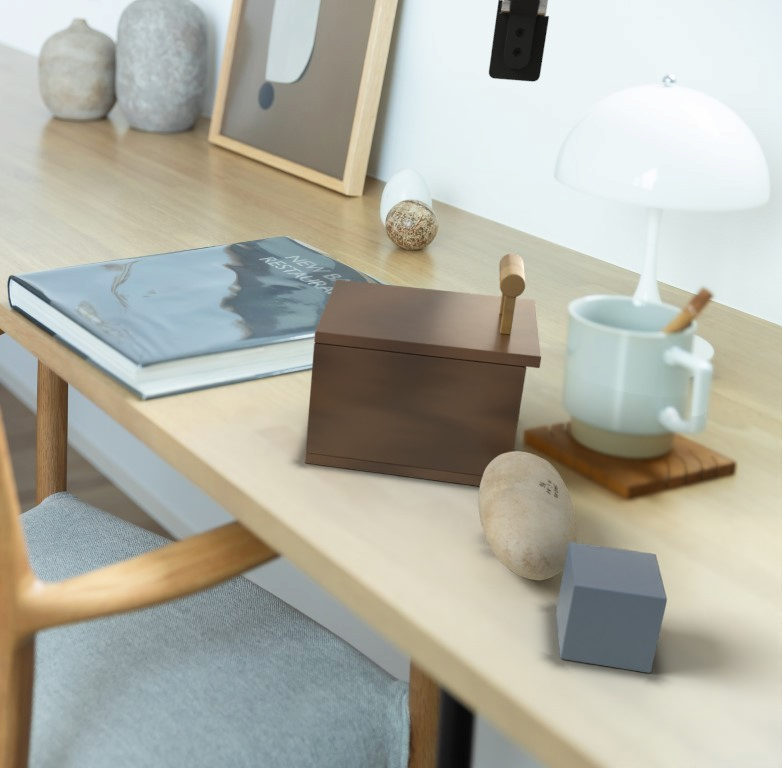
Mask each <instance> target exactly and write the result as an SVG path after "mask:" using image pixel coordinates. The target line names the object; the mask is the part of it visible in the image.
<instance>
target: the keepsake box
mask: <svg viewBox="0 0 782 768" xmlns="http://www.w3.org/2000/svg"><path fill="white" fill-rule="evenodd" d="M311 365H312V366H311V380H310V389H309V390H310V392H309V404H308V414H307V415H308V418H307V428H306V429H307V430H306V441H305V442H306V443H305V453H304V454H305V455H304V463H305V464H310V465H318V466H319V465H320V466H326V467H333V468H334V467H335V468H341V469H348V470H357V471H363V472H372V473H377V474H378V473H379V474H385V475H386V474H387V475H392V476H401V477H408V478H417V479H423V480H431V481H438V482H439V481H440V482H445V483H446V482H447V483H455V484H460V485H467V486H469V485H470V486H476V487H480V483H481V480H482V477H483V474H484V471H485V469H486V467H487V466H488V464H489V463H490V462H491V461H492V460H493V459H495V458H496V457H497V456H499V455H501V454H504V453H507V452H513V451H515V444H516V436H517V432H518V425H519V417H520V413H521V412H520V411H521V405H522V400H523V393H524V385H525V379H526V375H527V374H526V373H527V367H525V366H516V365H507V364H499V363H490V362H481V361H472V360H464V359H455V358H446V357H437V356H429V355H420V354H411V353H402V352H394V351H385V350H376V349H367V348H359V347H350V346H341V345H332V344H324V343H315V342H314V343H313V354H312V364H311Z"/></svg>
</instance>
